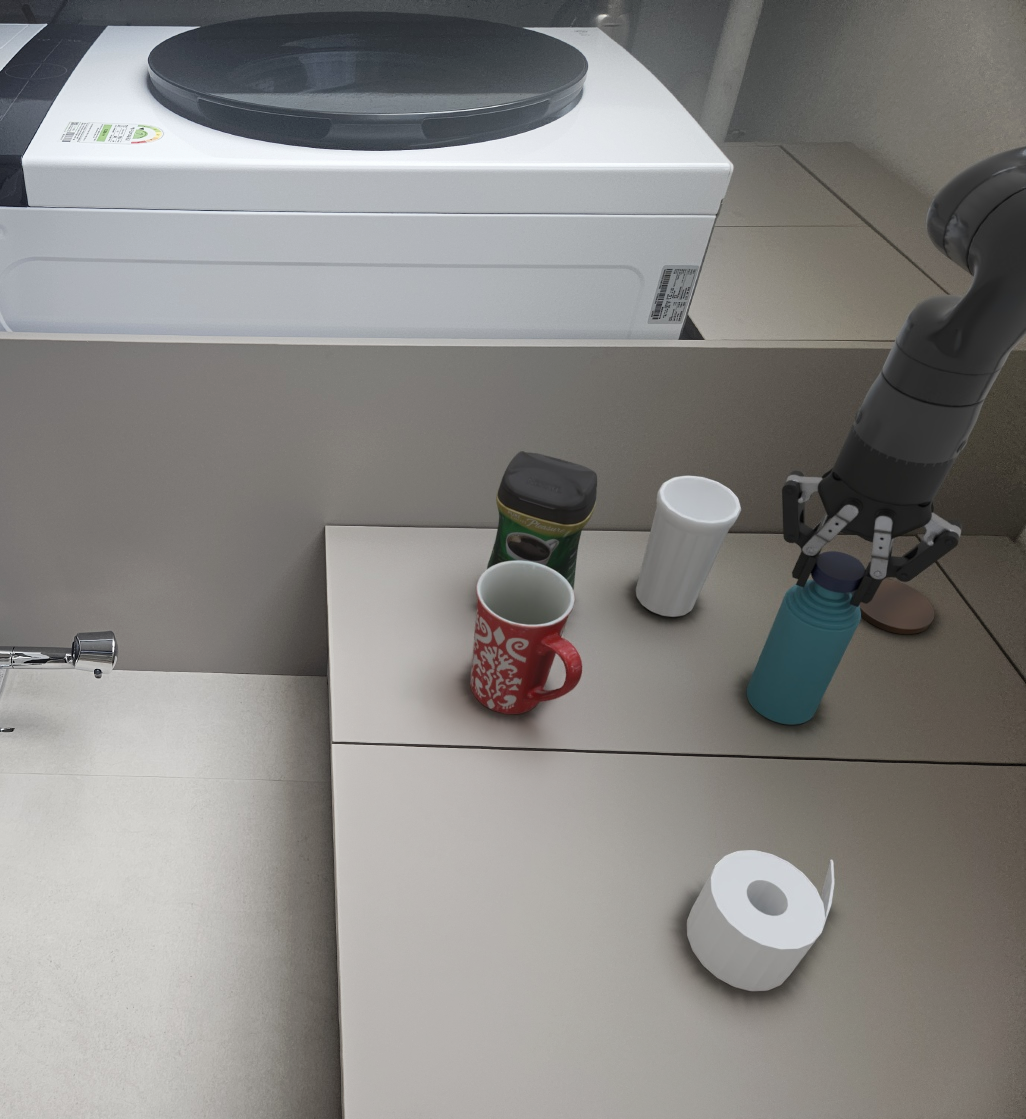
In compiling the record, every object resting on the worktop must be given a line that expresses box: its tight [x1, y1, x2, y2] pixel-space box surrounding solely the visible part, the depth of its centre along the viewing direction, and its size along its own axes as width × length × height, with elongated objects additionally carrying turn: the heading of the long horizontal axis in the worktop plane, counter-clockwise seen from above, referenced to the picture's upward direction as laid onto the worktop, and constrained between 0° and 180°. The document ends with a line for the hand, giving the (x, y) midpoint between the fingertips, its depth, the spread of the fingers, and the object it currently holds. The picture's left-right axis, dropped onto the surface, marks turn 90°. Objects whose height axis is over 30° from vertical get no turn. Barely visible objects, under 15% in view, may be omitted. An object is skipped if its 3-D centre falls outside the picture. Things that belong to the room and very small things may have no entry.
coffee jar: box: [485, 450, 598, 591], centre depth 102 cm, size 10×8×19 cm
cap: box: [810, 550, 866, 593], centre depth 86 cm, size 4×4×2 cm
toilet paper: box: [686, 849, 835, 992], centre depth 77 cm, size 8×11×7 cm
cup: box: [635, 475, 742, 618], centre depth 103 cm, size 8×8×14 cm
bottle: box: [745, 579, 862, 726], centre depth 91 cm, size 6×6×17 cm
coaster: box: [851, 578, 935, 635], centre depth 106 cm, size 8×8×1 cm
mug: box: [469, 561, 583, 715], centre depth 93 cm, size 13×9×14 cm
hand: (828, 589), depth 87 cm, fingers closed on cap, 4 cm apart
